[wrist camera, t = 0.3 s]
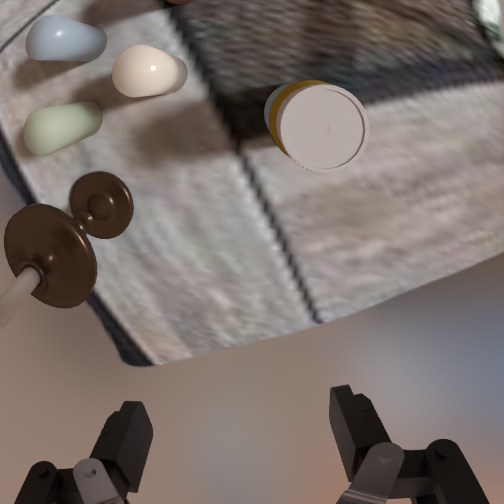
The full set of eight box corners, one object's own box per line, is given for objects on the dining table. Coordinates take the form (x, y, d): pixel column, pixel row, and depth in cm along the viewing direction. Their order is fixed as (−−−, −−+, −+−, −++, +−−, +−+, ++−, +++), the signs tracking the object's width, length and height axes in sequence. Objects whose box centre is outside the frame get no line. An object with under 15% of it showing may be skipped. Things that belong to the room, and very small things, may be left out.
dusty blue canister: (68, 49, 27) (18, 45, 18) (92, 20, 26) (46, 7, 17) (88, 69, 29) (41, 69, 20) (113, 40, 27) (70, 29, 18)
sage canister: (65, 121, 32) (16, 136, 23) (85, 93, 30) (38, 100, 21) (87, 144, 33) (42, 165, 25) (109, 116, 32) (66, 129, 23)
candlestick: (60, 171, 35) (-148, 357, 4) (131, 157, 34) (-110, 403, 4) (79, 244, 40) (-61, 458, 10) (147, 239, 40) (24, 513, 9)
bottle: (262, 83, 31) (270, 77, 18) (325, 83, 30) (376, 81, 17) (265, 143, 34) (274, 180, 21) (326, 142, 34) (372, 179, 21)
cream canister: (139, 76, 30) (102, 74, 21) (168, 47, 28) (139, 34, 20) (166, 102, 31) (136, 108, 23) (196, 73, 30) (175, 68, 21)
